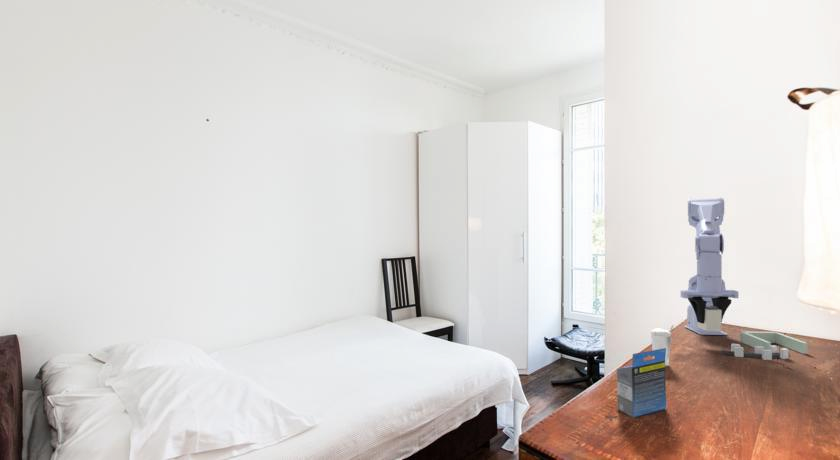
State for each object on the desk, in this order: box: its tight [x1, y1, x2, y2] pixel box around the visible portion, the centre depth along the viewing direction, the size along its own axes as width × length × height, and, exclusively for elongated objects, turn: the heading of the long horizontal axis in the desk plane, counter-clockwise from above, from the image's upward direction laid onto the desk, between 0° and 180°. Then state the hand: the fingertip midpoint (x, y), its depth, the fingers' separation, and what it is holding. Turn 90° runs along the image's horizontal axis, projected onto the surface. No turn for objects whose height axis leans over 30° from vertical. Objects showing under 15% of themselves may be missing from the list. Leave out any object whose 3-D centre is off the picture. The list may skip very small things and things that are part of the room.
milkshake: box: [650, 325, 674, 367], centre depth 100 cm, size 4×5×10 cm
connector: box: [698, 305, 723, 331], centre depth 113 cm, size 4×4×7 cm
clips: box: [730, 343, 789, 361], centre depth 105 cm, size 6×12×2 cm, turn 84°
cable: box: [719, 349, 790, 359], centre depth 105 cm, size 4×17×1 cm, turn 84°
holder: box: [739, 331, 808, 355], centre depth 111 cm, size 10×10×3 cm
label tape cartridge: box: [616, 348, 667, 418], centre depth 77 cm, size 9×4×12 cm, turn 110°
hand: (709, 322), depth 113 cm, fingers closed on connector, 4 cm apart
